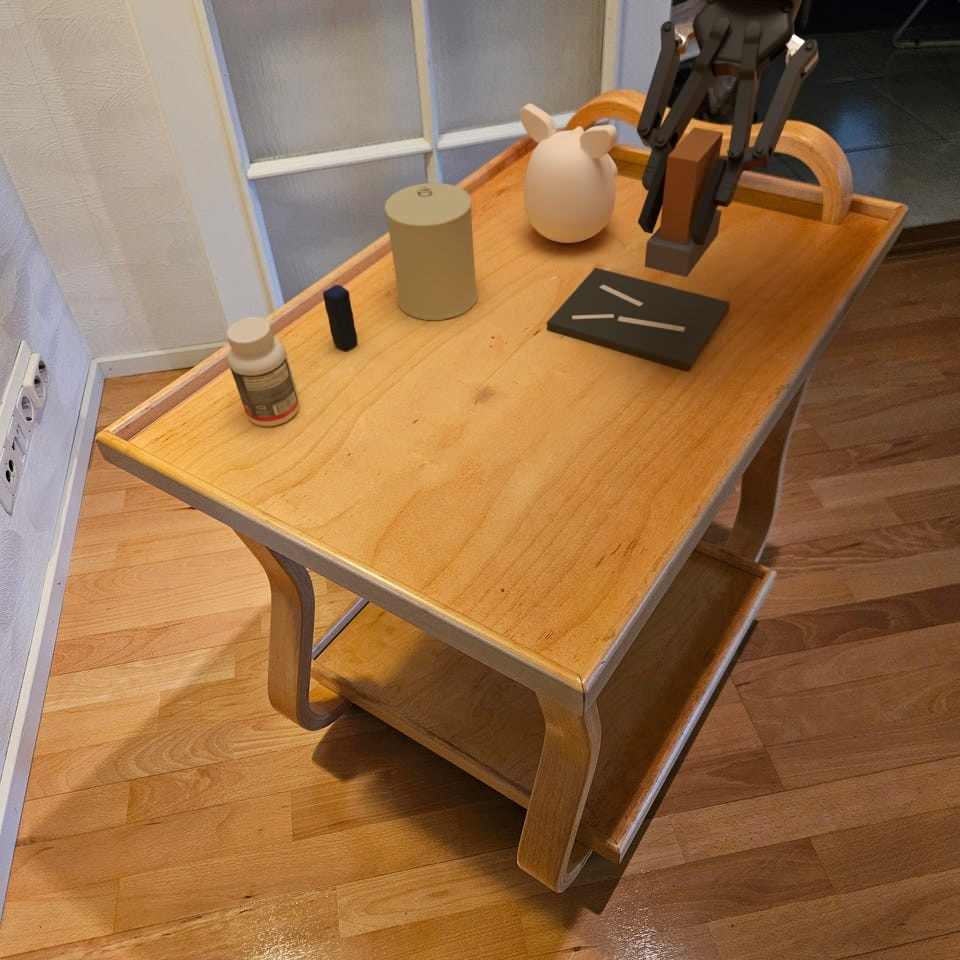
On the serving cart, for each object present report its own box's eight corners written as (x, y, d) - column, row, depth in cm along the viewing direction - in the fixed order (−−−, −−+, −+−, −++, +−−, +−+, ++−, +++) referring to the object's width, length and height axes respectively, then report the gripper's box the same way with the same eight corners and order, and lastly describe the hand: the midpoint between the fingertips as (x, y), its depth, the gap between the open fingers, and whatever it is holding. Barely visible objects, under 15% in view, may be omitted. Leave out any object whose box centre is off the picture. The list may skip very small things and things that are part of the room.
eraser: (332, 345, 89) (320, 291, 84) (348, 336, 90) (337, 282, 85) (344, 353, 88) (333, 299, 83) (360, 344, 89) (350, 289, 84)
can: (468, 269, 98) (461, 172, 90) (486, 312, 92) (480, 212, 83) (392, 282, 97) (377, 185, 89) (404, 327, 91) (390, 227, 82)
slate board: (729, 309, 90) (730, 301, 89) (688, 371, 83) (690, 363, 82) (594, 274, 96) (595, 266, 95) (546, 329, 89) (546, 321, 88)
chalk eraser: (717, 235, 78) (735, 128, 70) (686, 277, 73) (702, 168, 66) (677, 226, 79) (690, 121, 72) (644, 267, 75) (655, 159, 67)
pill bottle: (245, 398, 84) (218, 317, 77) (298, 388, 84) (276, 307, 77) (247, 433, 80) (219, 351, 73) (303, 422, 81) (280, 340, 74)
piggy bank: (629, 218, 104) (639, 96, 94) (600, 266, 97) (607, 139, 86) (537, 204, 108) (537, 85, 98) (503, 248, 101) (498, 125, 90)
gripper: (872, -2, 69) (772, 269, 71) (677, -22, 76) (592, 226, 78) (875, -59, 62) (765, 243, 64) (661, -76, 69) (568, 198, 71)
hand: (670, 233), depth 71 cm, fingers closed on chalk eraser, 4 cm apart
